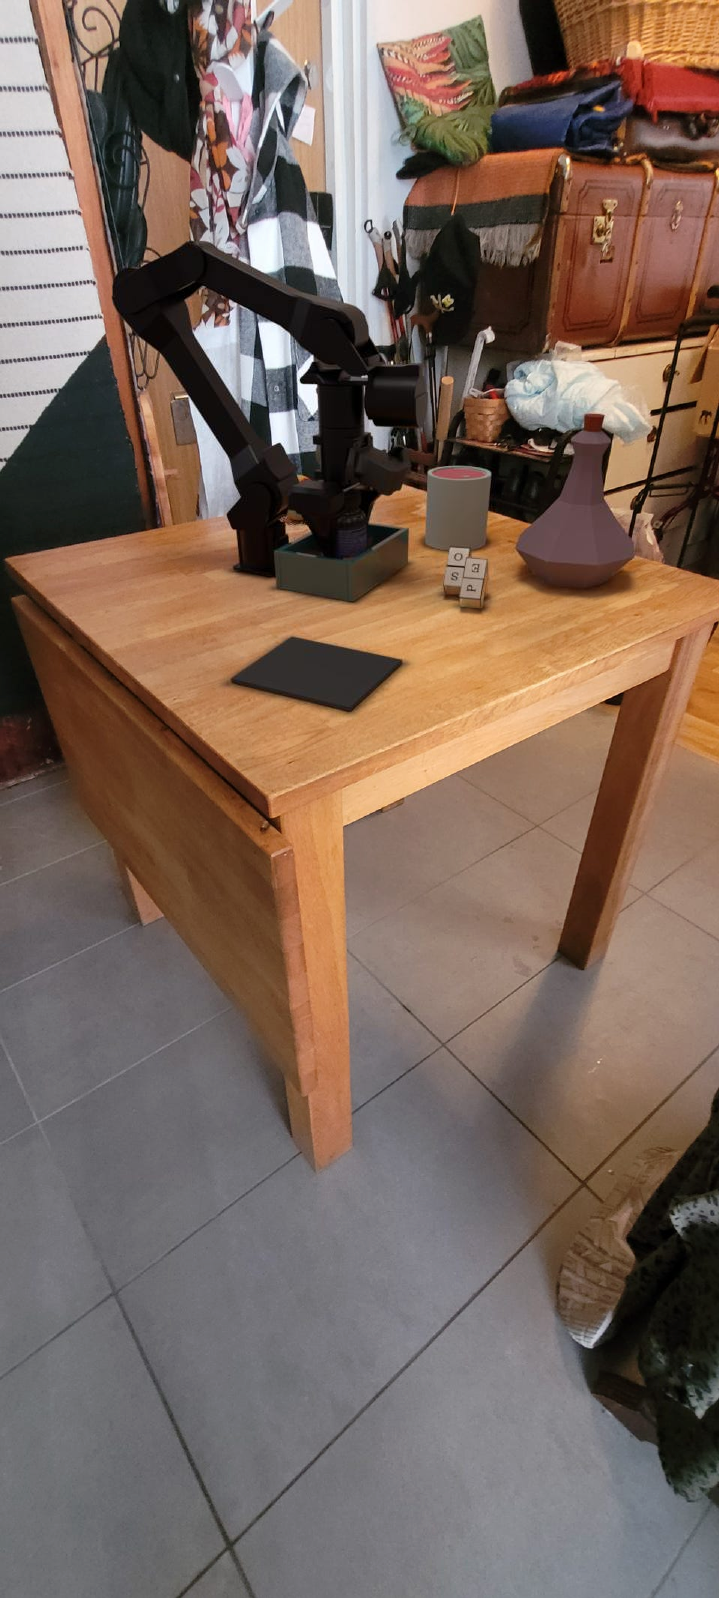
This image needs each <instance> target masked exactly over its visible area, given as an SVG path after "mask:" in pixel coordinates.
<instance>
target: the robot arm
mask: <svg viewBox="0 0 719 1598" xmlns="http://www.w3.org/2000/svg"><path fill="white" fill-rule="evenodd" d="M111 286H112V287H111V291H112V295H111V302H112V305H113V307H114V308H115V311H116V312H117V314H118V315H119V317H120V318H121V319H122V320H123V321H124V322H125V323H126V324H127V325H128V327H129V328H130V329H131V331H133V332H134V333H135V335H136V336H137V337H138V338H140V339H141V340H142V341H144V342H145V343H146V344H147V345H149V346H150V347H151V348H153V349H154V350H155V351H157V352H158V353H159V354H160V356H162V358H163V359H164V361H165V362H166V364H167V366H168V367H169V369H170V370H171V371H172V373H173V375H174V376H175V378H176V379H177V381H178V382H179V384H180V385H181V387H182V389H183V390H184V391H185V393H186V394H187V396H188V398H189V399H190V401H191V402H192V404H193V405H194V407H195V408H196V410H197V412H198V413H199V414H200V416H201V417H202V419H203V421H204V422H205V424H206V425H207V427H208V428H209V430H210V432H211V433H212V435H213V436H214V437H215V439H216V441H217V442H218V443H219V445H220V447H221V448H222V450H223V451H224V453H225V454H226V456H227V458H228V460H229V464H230V469H231V474H232V480H233V484H234V486H235V488H236V490H237V493H238V495H239V499H238V500H237V501H236V502H235V503H234V504H233V505H232V506H231V508H230V509H229V510H228V511H227V513H226V518H227V520H228V524H229V525H230V528H231V529H232V530H234V531H236V533H235V534H236V543H237V553H238V562H237V563H236V564H234V565H232V569H233V571H238V572H245V573H249V574H256V575H261V576H267V577H272V576H274V575H276V572H275V558H274V551H275V550H277V549H278V548H280V547H282V546H284V545H286V544H288V543H290V536H289V534H288V533H287V529H286V527H287V526H286V522H285V521H282V520H281V519H283V518H284V517H285V518H286V517H287V514H288V511H289V510H292V511H296V513H297V514H300V515H301V516H302V518H303V519H304V520H303V521H304V523H305V524H306V526H307V527H308V529H309V532H311V533H312V534H313V536H314V538H315V540H316V542H317V544H318V546H319V548H320V550H321V551H322V553H323V555H324V557H329V558H334V557H335V549H336V534H337V522H338V520H339V519H340V517H341V516H342V515H343V514H344V513H345V512H346V510H347V509H342V506H343V503H344V492H347V491H349V490H351V489H356V490H359V491H360V492H361V503H360V504H359V509H361V510H363V511H364V513H365V515H366V530H367V527H368V523H370V519H371V515H372V511H373V508H374V506H375V503H376V501H377V500H378V499H379V498H381V496H386V497H390V496H392V495H393V494H394V493H396V492H400V491H402V488H403V485H404V482H405V479H406V477H408V476H409V475H410V474H411V473H412V469H411V464H412V462H410V453H409V448H407V447H406V446H404V445H401V444H397V445H394V446H393V447H391V449H389V450H388V451H387V449H385V448H384V449H379V448H377V447H375V446H374V437H373V435H372V433H371V431H366V430H365V429H366V425H365V415H366V417H367V420H368V421H372V424H373V425H374V426H375V427H381V428H399V429H400V428H403V429H407V428H408V429H422V428H423V426H424V424H425V422H426V417H427V411H428V402H429V401H428V400H429V399H428V398H429V396H428V395H429V392H428V391H427V384H426V379H425V376H424V364H423V363H422V362H411V363H407V364H387V361H386V360H385V358H384V357H383V356H382V354H381V353H380V350H379V349H378V347H377V346H376V344H375V342H374V341H373V340H372V338H371V335H370V329H369V324H368V320H367V317H366V315H365V313H364V312H363V311H362V310H361V308H358V306H356V305H354V304H351V303H347V302H344V301H340V300H336V299H332V298H330V297H324V296H320V295H314V294H310V293H306V292H302V291H300V290H298V289H297V288H294V287H292V286H290V285H289V284H286V283H285V282H282V281H281V280H279V279H277V278H275V277H273V276H271V275H269V274H267V273H265V272H263V271H261V270H260V269H258V268H256V267H253V266H252V265H250V264H248V263H246V262H245V261H242V260H240V259H238V258H236V257H235V256H233V255H231V254H228V253H227V252H225V251H223V250H221V249H220V248H219V247H217V246H216V245H215V244H214V243H212V242H210V241H207V240H188V241H184V243H183V244H181V246H178V247H177V248H176V249H174V250H172V251H171V252H169V253H167V254H164V255H162V256H160V257H157V258H155V259H153V260H151V261H149V262H147V263H145V264H143V265H142V266H129V267H123V268H122V269H120V270H119V271H118V272H117V273H116V274H115V276H114V278H113V282H112V285H111ZM202 288H206V289H208V290H210V291H212V292H213V293H216V294H217V295H220V296H222V297H223V298H225V299H227V300H229V301H231V302H233V303H235V304H237V305H239V306H240V307H243V308H245V309H247V310H248V311H250V312H252V313H254V314H256V315H258V316H260V317H261V318H263V319H266V320H268V321H270V323H274V324H275V325H277V326H279V327H281V328H282V329H283V330H284V331H286V332H287V333H288V334H289V335H290V336H291V337H292V338H293V340H294V341H295V342H296V343H297V344H298V345H299V346H300V347H302V348H303V349H304V350H305V351H307V352H308V353H309V354H310V355H311V356H312V357H313V356H314V357H316V358H317V359H318V360H317V361H314V362H313V361H311V363H310V366H309V367H308V369H307V370H306V371H305V372H304V373H303V374H302V376H301V377H300V378H299V383H300V384H301V385H316V388H317V393H316V395H317V396H316V397H317V417H318V420H317V421H318V433H317V434H313V435H312V445H313V446H317V445H320V465H319V467H320V468H318V469H316V470H314V471H313V476H314V477H313V478H314V480H312V481H310V480H311V479H310V480H306V481H303V482H301V483H299V479H298V477H297V475H298V474H297V473H296V472H297V471H298V470H299V468H298V467H297V466H296V465H295V464H294V463H293V461H291V459H290V458H289V456H288V454H287V451H286V449H285V447H284V445H283V444H282V443H281V442H277V443H275V444H272V445H269V444H267V442H265V441H263V440H262V439H261V437H259V436H258V434H257V433H256V431H255V429H254V427H253V426H252V424H251V423H250V421H249V419H248V418H247V417H246V415H245V414H244V412H243V411H242V409H241V407H240V405H239V404H238V402H237V401H236V399H235V398H234V396H233V394H232V393H231V391H230V390H229V388H228V387H227V385H226V383H225V382H224V380H223V378H222V376H220V374H219V372H218V371H217V369H216V367H215V366H214V365H213V362H212V361H211V360H210V358H209V356H208V355H207V353H206V352H205V350H204V349H203V347H202V345H201V343H200V342H199V341H198V338H197V337H196V336H195V333H194V331H193V326H192V321H191V315H190V310H189V307H188V304H187V302H186V300H188V299H189V298H191V297H193V296H194V295H195V294H197V293H198V292H199V291H200V290H201V289H202ZM321 362H323V363H325V364H328V365H338V366H339V367H340V368H326V367H325V366H324V365H323V364H322V363H321ZM366 376H367V377H366ZM319 480H324V482H320V481H319Z"/></svg>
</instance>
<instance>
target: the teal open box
mask: <svg viewBox="0 0 719 1598" xmlns="http://www.w3.org/2000/svg"><path fill="white" fill-rule="evenodd" d="M409 533H410V528H409V527H403V526H396V525H389V524H381V523H375V522H369V523H368V527H367V530H366V538H367V551H365V552H364V553H362V554H361V555H359V556H357V557H356V558H354V559H353V560H351V561H347V560H341V559H335V558H329V557H323V556H322V551H321V550H320V548H319V546H318V544H317V542H316V540H315V538H314V536H313V534H312V533H311V531H309V532H308V533H305V534H304V535H301V536H300V537H298V538H296V539H294V540H292V541H289V543H288V544H286V545H284V546H282V547H280V548H278V549H277V550H275V551H274V558H275V572H276V574H275V582H276V583H275V585H276V589H280V590H284V591H285V590H286V591H291V592H296V593H302V594H306V595H312V596H319V597H323V598H329V599H334V600H339V601H346V602H351V603H355V602H356V601H357V600H358V599H360V598H361V597H363V596H364V595H366V594H367V593H368V592H370V591H371V590H372V589H374V588H375V587H377V586H378V585H379V584H381V583H383V582H384V581H385V580H388V578H390V577H391V576H393V575H394V574H395V573H397V572H399V570H401V569H403V568H404V567H405V566H406V565H408V564H409V540H410V539H409V536H410V534H409Z"/></svg>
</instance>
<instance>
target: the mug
mask: <svg viewBox="0 0 719 1598" xmlns="http://www.w3.org/2000/svg"><path fill="white" fill-rule="evenodd" d="M491 481H492V472H491V471H490V470H488V469H486V468H482V467H477V466H468V465H448V466H446V465H445V466H438V467H434V468H431V469H429V470H428V471H427V481H426V506H425V507H426V508H425V512H426V513H425V533H424V543H425V545H427V546H429V547H430V548H433V549H436V550H442V551H447V552H449V549H450V546H453V547H466V548H471V551H473V550H474V551H475V550H477V549H481V548H482V547H484V546H485V545H486V541H487V529H488V517H489V507H490V496H491V494H490V493H491V492H490V491H491V484H492V483H491Z"/></svg>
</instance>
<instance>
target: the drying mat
mask: <svg viewBox="0 0 719 1598" xmlns="http://www.w3.org/2000/svg"><path fill="white" fill-rule="evenodd" d="M402 664H403V659H401V658H397V657H392V656H386V655H381V654H379V653H378V654H377V653H372V652H369V651H363V650H358V649H353V648H348V647H344V646H339V645H335V644H330V643H324V642H320V641H315V640H310V639H305V638H301V637H296V636H290V637H289V638H288V639H286V640H285V641H283V642H282V643H280V644H278V645H277V646H276V647H274V648H273V649H271V650H270V651H268V652H267V653H266V654H264V655H263V656H262V657H260V658H258V659H256V660H255V661H254V662H253V663H251V664H250V665H248V666H246V667H245V668H244V669H243V670H241V671H239V672H237V674H235V675H233V676H232V677H231V678H230V682H231V683H232V684H235V685H241V686H245V687H248V688H252V689H257V690H261V691H265V692H269V693H273V694H276V695H282V696H284V697H289V698H292V699H297V700H301V701H306V702H310V703H312V704H313V703H314V704H318V705H321V706H326V707H330V708H334V709H338V710H343V711H347V712H351V711H352V710H353V709H354V708H356V707H357V706H358V705H359V704H360V703H361V702H362V701H363V700H364V699H365V698H367V697H368V696H369V695H370V694H371V693H372V692H373V691H374V690H376V688H377V687H379V686H380V684H382V683H383V682H384V681H385V680H386V679H387V678H388V677H390V676H391V675H392V674H393V673H394V672H395V671H396V670H397V669H399V667H401V665H402Z"/></svg>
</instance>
